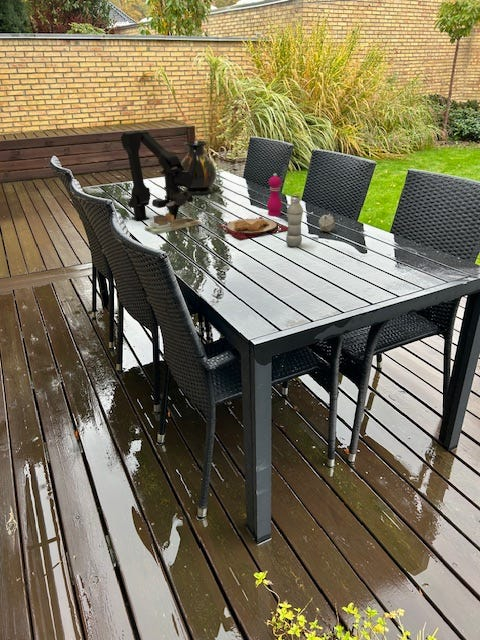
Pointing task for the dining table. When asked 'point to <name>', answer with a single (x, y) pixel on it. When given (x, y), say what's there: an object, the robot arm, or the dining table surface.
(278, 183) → the pepper mill
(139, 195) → the robot arm
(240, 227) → the plate with food
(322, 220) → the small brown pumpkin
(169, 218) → the sled
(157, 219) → the block
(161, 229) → the deck
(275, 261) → the dining table surface
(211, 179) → the amphora vase
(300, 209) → the plastic bottle
